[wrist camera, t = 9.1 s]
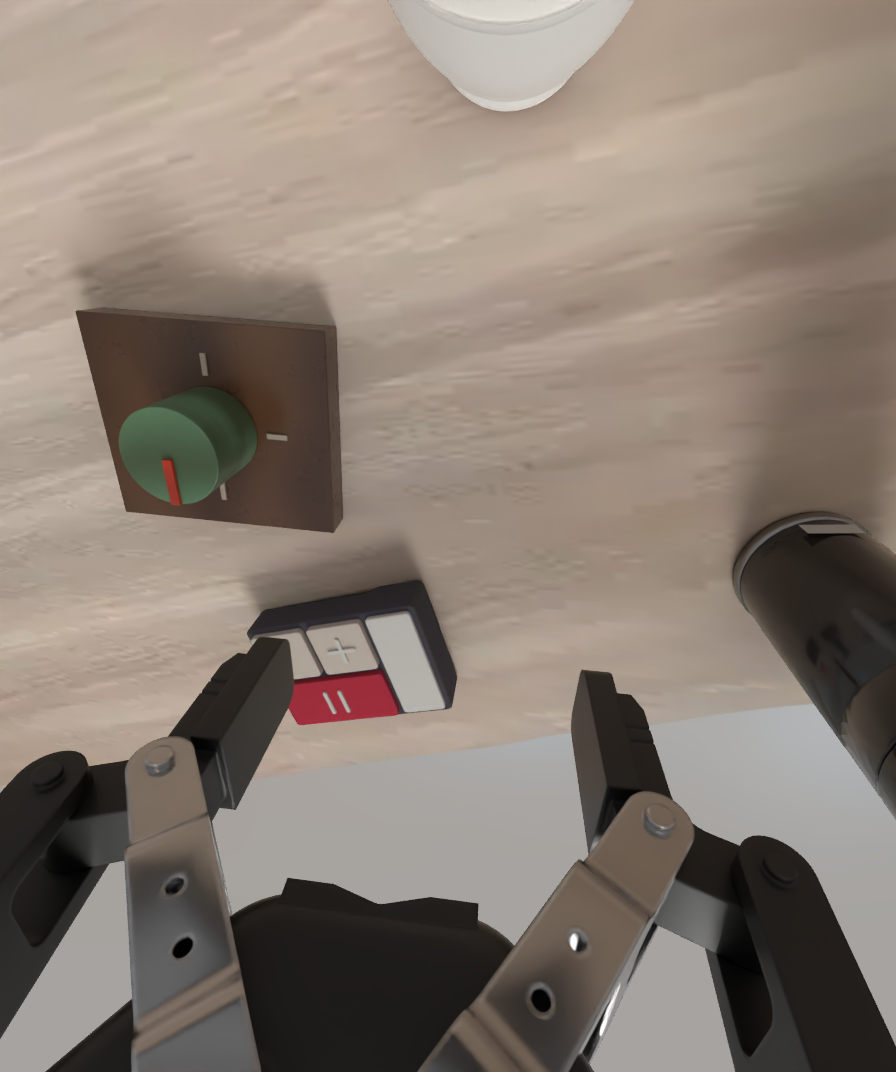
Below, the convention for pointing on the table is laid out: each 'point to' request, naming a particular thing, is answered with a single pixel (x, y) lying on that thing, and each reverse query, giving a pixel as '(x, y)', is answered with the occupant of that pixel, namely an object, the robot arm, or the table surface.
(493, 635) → the table surface
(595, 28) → the jar
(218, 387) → the base
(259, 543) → the table surface
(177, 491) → the knob
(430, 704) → the calculator
